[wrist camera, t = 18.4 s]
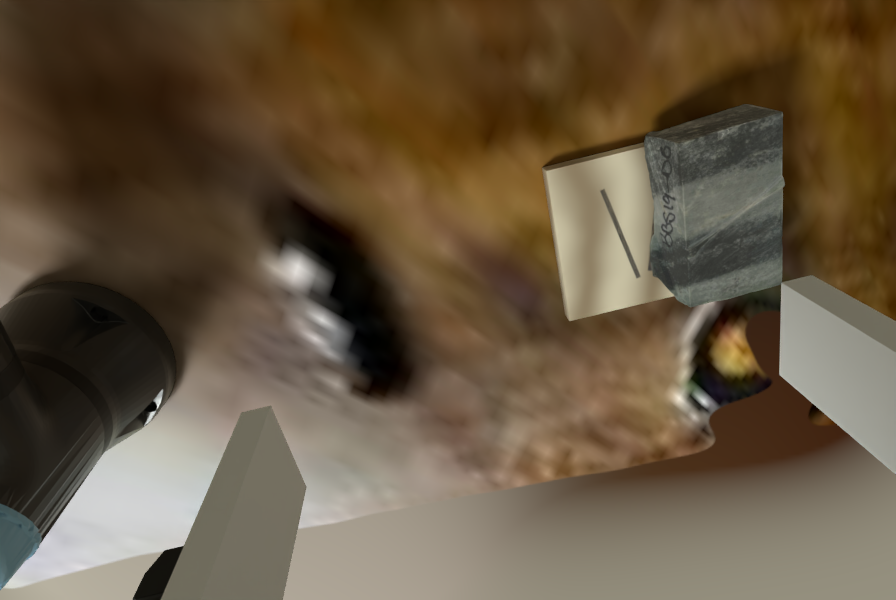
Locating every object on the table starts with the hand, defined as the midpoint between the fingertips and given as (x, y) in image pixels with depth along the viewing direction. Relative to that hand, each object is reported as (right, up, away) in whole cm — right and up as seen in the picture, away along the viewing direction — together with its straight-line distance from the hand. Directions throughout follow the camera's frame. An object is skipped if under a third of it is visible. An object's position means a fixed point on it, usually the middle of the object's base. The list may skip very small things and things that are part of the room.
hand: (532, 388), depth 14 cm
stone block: (+19, +10, +34) cm, 40 cm away
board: (+15, +9, +35) cm, 40 cm away
